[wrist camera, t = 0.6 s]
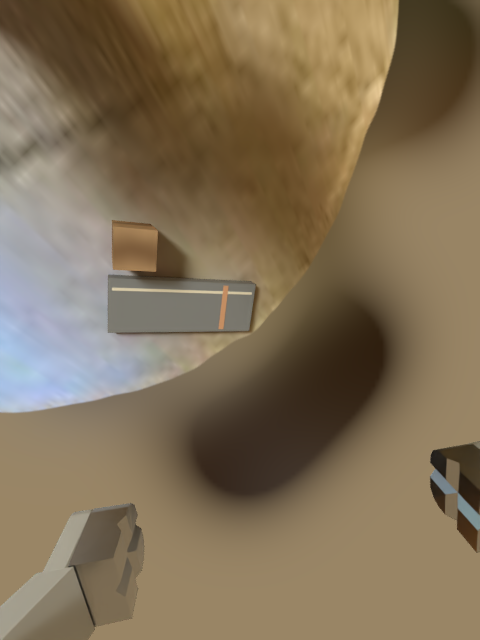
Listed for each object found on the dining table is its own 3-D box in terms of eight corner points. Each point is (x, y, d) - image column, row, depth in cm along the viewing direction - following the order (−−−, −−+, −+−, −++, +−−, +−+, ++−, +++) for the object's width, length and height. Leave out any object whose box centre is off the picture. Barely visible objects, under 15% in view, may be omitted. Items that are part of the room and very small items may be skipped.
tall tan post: (112, 220, 46) (113, 226, 39) (150, 224, 48) (158, 230, 41) (111, 257, 47) (113, 269, 40) (148, 259, 49) (156, 271, 42)
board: (107, 274, 48) (108, 278, 46) (251, 281, 56) (256, 284, 54) (107, 327, 51) (107, 332, 49) (244, 326, 59) (249, 331, 57)
